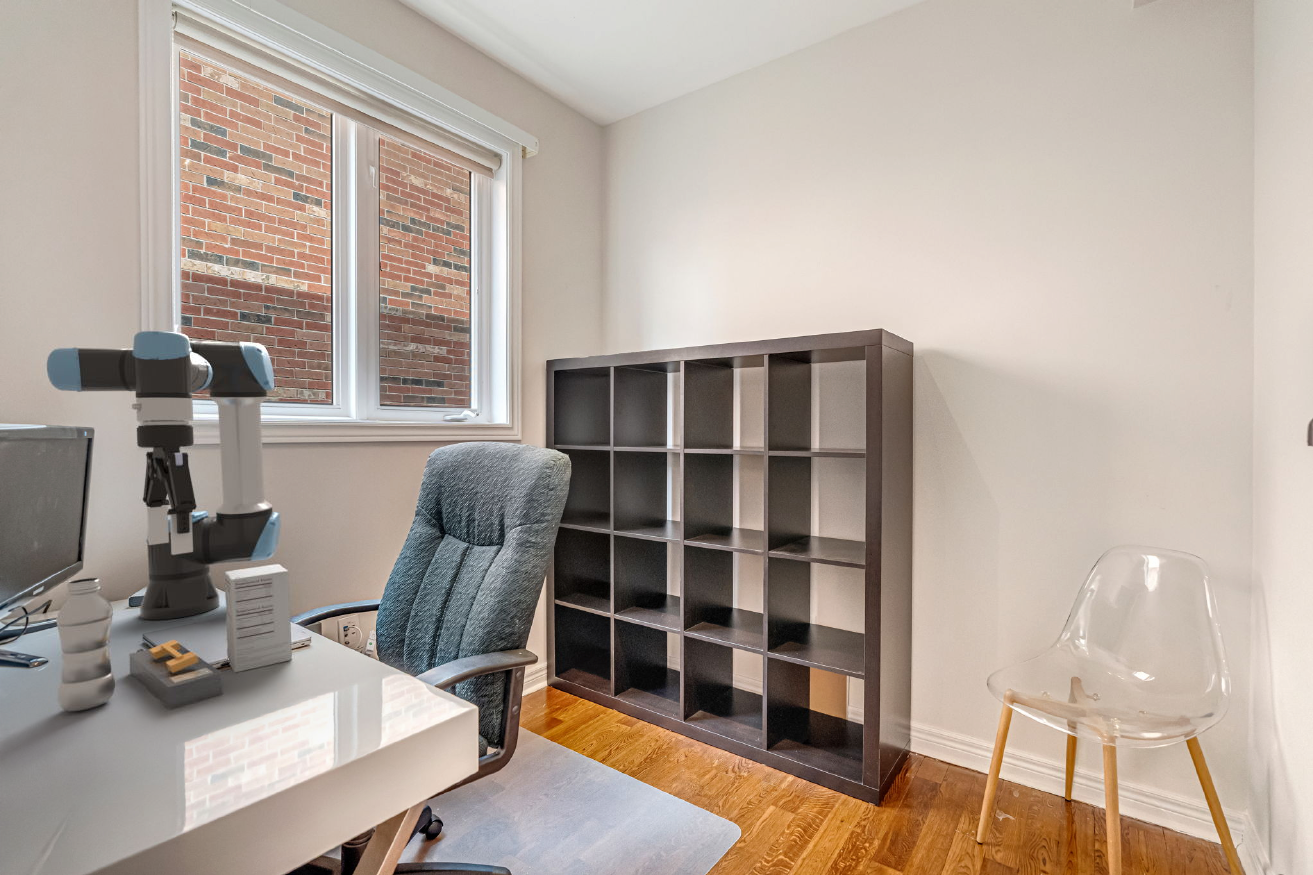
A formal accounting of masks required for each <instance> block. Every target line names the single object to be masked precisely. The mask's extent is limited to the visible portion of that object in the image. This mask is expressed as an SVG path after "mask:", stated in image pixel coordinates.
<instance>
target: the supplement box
mask: <svg viewBox="0 0 1313 875" xmlns="http://www.w3.org/2000/svg"><path fill="white" fill-rule="evenodd" d="M289 571H290V570H288V569H286V568H284V567H283V566H282V565H281V564H278V563H277V564H276V563H275V564H269V565H262V566H254V567H249V568H241V569H235V570H234V569H233V570H228V571H225V572H224V593H225V594H224V595H225V596H224V597H225V610H226V617H225V618H226V619H225V620H226V646H227V647H226V648H227V649H226V650H227V659H228V658H229V661H228V663H229V662H230V663H229V665H230V668H232V670H233V673H239V672H243V671H248V670H254V669H256V668H261V667H265V666H269V665H274V664H279V663H284V662H287V661H291V660H292V659H293V657H292V655H293V652H292V627H291V626H292V624H291V600H290V597H291V594H290V593H291V592H290V572H289Z"/></svg>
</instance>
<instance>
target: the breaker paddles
mask: <svg viewBox="0 0 1313 875" xmlns="http://www.w3.org/2000/svg"><path fill="white" fill-rule="evenodd" d="M179 644H180V643H179V642H178V641H177V640H176V639H171V640H169V641H167V642H165V643H161V644H159V645H157V646H155V647H152V648H149V651H150V654H151V656H152V657H153V658H155V659H157V658H160V657H162V656H165V655H167V654H170V655H172V656H173V657H175V659H172V660H170V661H168V662H166V665H167V668H168V669H169V670H170V671H171V672H172V673H174V672H176V671H178V670H181V669H183V668H185V667H187V666H190V665H192V664H194V663H197V662H199V661H198V658H197V656H198V655H197V654H195V653H194V652H193V651H190V652H189V653H187V654H184V655H182V654H180V653H179V652H177V650H179V649H180V646H179Z"/></svg>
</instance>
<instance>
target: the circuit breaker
mask: <svg viewBox="0 0 1313 875" xmlns="http://www.w3.org/2000/svg"><path fill="white" fill-rule="evenodd" d="M179 646H180V649H179V650H177V652H179V653H180V654H182V655H184V654H187V653H189V652H191V651H190V650H189V649H188V648H186V647H184V646H183V645H182V644H180V643H179ZM149 649H150V648H149ZM149 649H142V648H140V649H137V650H136V652H131V653H129V655H128V656H129V674H130V675H131V676H132V677H133V678H134V679H135V680H137V682H139V683H140V684H141V685H142V686H143V687H144V688H145V689H146V690H147V691H148V692H150V693H151V694H152V695H153V697H155V698H156V699H157V700H158V701H159V702H160V703H161V704H162V705H164V706H165V708H167V709H168V710H169V711H171V710H174V709H178V708H181V707H183V706H184V707H185V706H187V705H191V704H194V703H197V702H200V701H203V700H207V699H210V698H214V697H216V696H217V697H218V696H221V695H223V694H224V692H223V672H222V671H220V670H219V669H217V668H215V667H214V666H213V665H212V664H209V663H208V662H207V661H205V659H203V658H201V657H199V656H198V655H197V658H198V661H199V662H197V663H194V664H192V665H190V666H187V667H185V668H183V669H181V670H178V671H176V672H174V673H172V672H171V671H170V670H169V669H168V668H167V665H166V662H168V661H170V660H172V659H175V657H173V656H172V655H170V654H167V655H165V656H162V657H160V658H157V659H155V658H153V657H152V656H151V654H150V651H149Z"/></svg>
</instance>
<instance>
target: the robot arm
mask: <svg viewBox="0 0 1313 875" xmlns="http://www.w3.org/2000/svg"><path fill="white" fill-rule="evenodd" d="M46 372H47V377H48V380H49V382H50V384H51V385H52V387H54V388H55V389H57V390H59V391H65V392H68V391H69V392H77V393H81V392H135V398H136V399H135V402H136V403H133V404H131V409H132V410H135V411H136V421H137V422H139V423H141V425H137V426H138V427H136V440H137V441H136V444H137V446H138V448H141V449H142V448H144V449H145V448H146V449H148V448H149V449H150V448H151V449H153V450H152V451H146V454H145V456H146V469H145V475H144V476H145V479H144V486H143V498H142V501H143V503H145V506H146V507H147V508H146V511H147V512H146V513H147V539H146V542H147V565H148V566H147V567H148V569H147V570H148V583H147V584H148V585H147V588H146V590H145V593H144V596H143V599H142V602H141V604H140V607H139V613H140V616H139V617H140V618H141V619H143V620H148V621H149V620H150V621H154V620H155V621H156V620H158V621H159V620H171V619H178V618H179V619H180V618H184V617H190V616H195V615H199V614H203V613H207V612H209V611H211V610H214V609H217V608H218V607H219V606H220V595H219V592H218V590H217V588H216V586H215V583H214V581H213V579H212V576H211V573H210V572H211V571H210V565H219V564H220V565H221V564H222V565H224V564H235V563H245V562H246V563H247V562H251V563H253V562H256V561H262V560H269V559H270V558H271V559H272V557H273V556H274V555H275V554H276V550H277V548H278V544H279V538H280V533H281V531H280V530H281V523H282V522H281V520H282V519H281V513H279V512H277V511H273V504H271V503H270V502H268V501H267V500H266V496H265V495H266V494H265V476H264V458H263V439H262V438H263V436H262V415H261V414H262V413H261V412H262V411H261V404H262V403H263V402H264V401H266V400H267V398H268V392H270V391H273V390H274V388H275V374H274V369H273V365H272V362H271V358H270V355H269V352H268V350H267V349H266V348H265V346H264V345H262V344H260V343H256V342H246V341H212V340H211V341H202V340H200V341H199V340H190V338H189V337H188V335H186V334H184V333H180V332H174V331H173V332H172V331H159V330H144V331H138V332H137V333H135V335H134V337H133V348H92V347H91V348H87V347H85V348H83V347H81V348H80V347H67V348H66V347H64V348H62V347H61V348H60V347H59V348H55V349H52V351H51V352H50V353H49V355H48V356H47V361H46ZM200 391H209V399H211V400H212V401H213V402H214V403H215V404H216V405H217V410H218V411H217V412H218V427H219V428H218V429H219V431H218V432H219V447H220V448H219V450H220V464H221V465H220V466H221V468H220V469H221V483H222V484H221V485H222V486H221V487H222V500H223V501H222V502H223V503H222V504H220V506H219V507H218V508H217V509H216V510H215V511H216V512H215V514H216V515H215V516H210V514H209V513H208V511H206V510H202V511H198V510H197V511H194V510H196V509H197V503H196V498H195V492H194V487H193V482H192V477H191V476H192V475H191V473H190V472H191V471H190V466H189V465H190V464H189V454H188V452H181V450H180V449H181V448H180V447H191V446H193V445H194V444H195V443H194V438H195V437H194V426H192V424H190V422H193V420H194V405H193V404H194V402H193V397H192V395H193V394H192V393H197V392H200ZM167 497H168V499H167ZM168 506H170V508H168Z"/></svg>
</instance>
